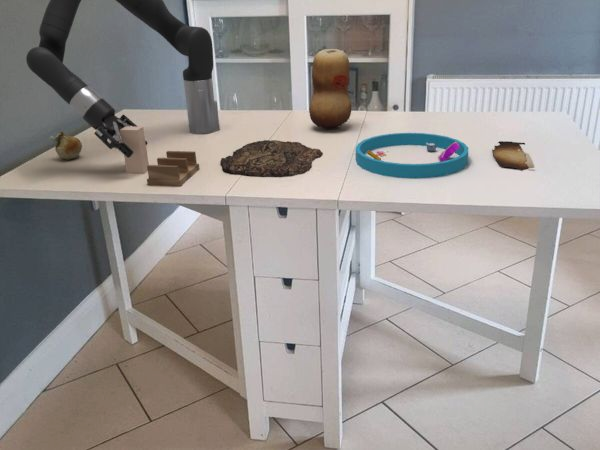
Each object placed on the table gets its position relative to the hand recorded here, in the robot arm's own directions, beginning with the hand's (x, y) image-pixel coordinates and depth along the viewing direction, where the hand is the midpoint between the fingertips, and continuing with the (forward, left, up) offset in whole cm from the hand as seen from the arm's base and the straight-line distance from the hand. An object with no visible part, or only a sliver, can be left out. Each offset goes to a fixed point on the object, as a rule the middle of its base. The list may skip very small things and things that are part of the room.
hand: (138, 150), depth 159 cm
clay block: (+1, -1, -6) cm, 6 cm away
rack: (-5, +10, -6) cm, 13 cm away
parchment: (-85, +54, -6) cm, 101 cm away
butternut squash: (-65, -2, -6) cm, 66 cm away
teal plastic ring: (-62, +39, -7) cm, 74 cm away
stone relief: (-33, +14, -7) cm, 37 cm away
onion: (+13, -26, -6) cm, 29 cm away
